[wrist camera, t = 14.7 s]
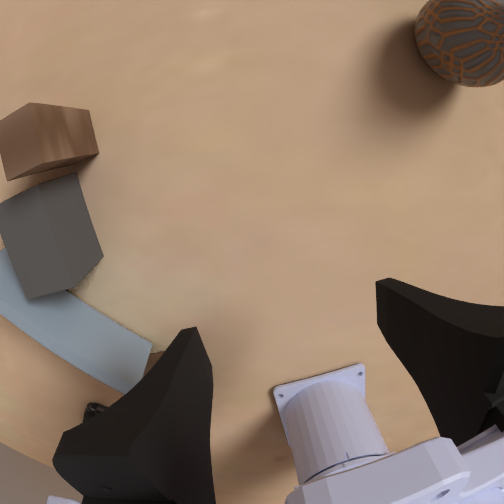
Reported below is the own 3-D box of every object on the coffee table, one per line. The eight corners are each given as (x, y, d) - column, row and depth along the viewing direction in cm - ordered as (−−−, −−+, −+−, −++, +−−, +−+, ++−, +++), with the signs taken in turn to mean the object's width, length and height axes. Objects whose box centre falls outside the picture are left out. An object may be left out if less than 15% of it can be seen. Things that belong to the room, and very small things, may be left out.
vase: (397, 72, 17) (482, 49, 9) (400, -6, 15) (470, -50, 7) (468, 102, 18) (553, 103, 10) (469, 29, 16) (544, 10, 8)
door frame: (177, 366, 24) (166, 434, 17) (150, 370, 24) (133, 436, 17) (89, 110, 17) (29, 102, 10) (59, 123, 17) (-6, 124, 10)
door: (152, 343, 23) (139, 388, 18) (141, 361, 23) (127, 405, 18) (6, 246, 19) (-32, 271, 14) (1, 268, 20) (-34, 295, 15)
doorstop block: (104, 255, 20) (74, 287, 16) (60, 268, 20) (27, 299, 16) (76, 172, 18) (37, 184, 14) (33, 191, 18) (-8, 207, 14)
